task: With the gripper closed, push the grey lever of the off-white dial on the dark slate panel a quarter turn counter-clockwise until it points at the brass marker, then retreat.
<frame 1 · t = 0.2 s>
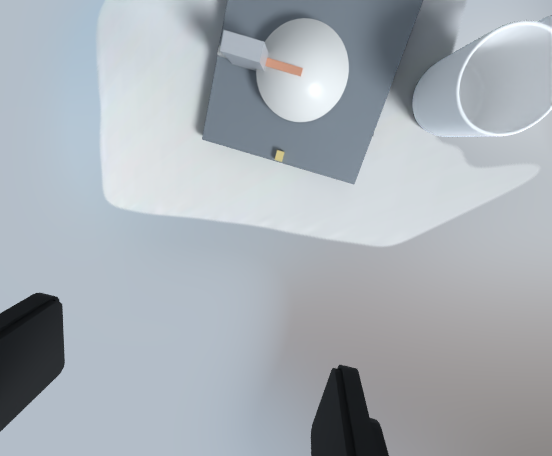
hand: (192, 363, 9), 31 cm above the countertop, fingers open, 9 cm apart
panel: (301, 79, 34), on the countertop
dial: (288, 66, 29), point 5 cm above the countertop, hinge at 0.0°
mug: (458, 86, 33), on the countertop
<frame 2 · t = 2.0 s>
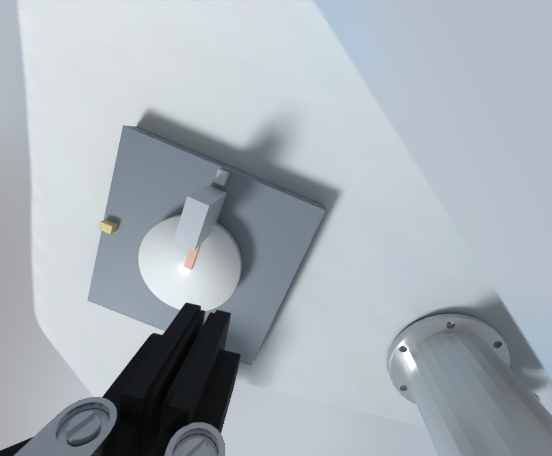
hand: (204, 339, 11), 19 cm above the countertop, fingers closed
panel: (201, 252, 31), on the countertop
dial: (187, 259, 26), point 5 cm above the countertop, hinge at 0.0°
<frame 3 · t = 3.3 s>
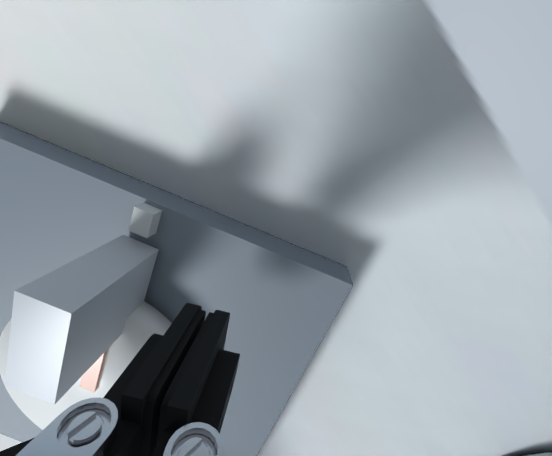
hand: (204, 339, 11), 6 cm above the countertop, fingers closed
panel: (133, 336, 18), on the countertop
dial: (77, 383, 13), point 5 cm above the countertop, hinge at 0.0°
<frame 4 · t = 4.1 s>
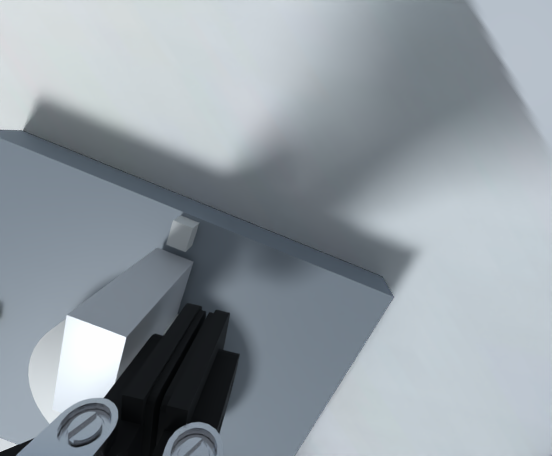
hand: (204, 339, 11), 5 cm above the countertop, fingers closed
panel: (160, 348, 18), on the countertop
dial: (114, 400, 12), point 5 cm above the countertop, hinge at 0.7°, touching gripper
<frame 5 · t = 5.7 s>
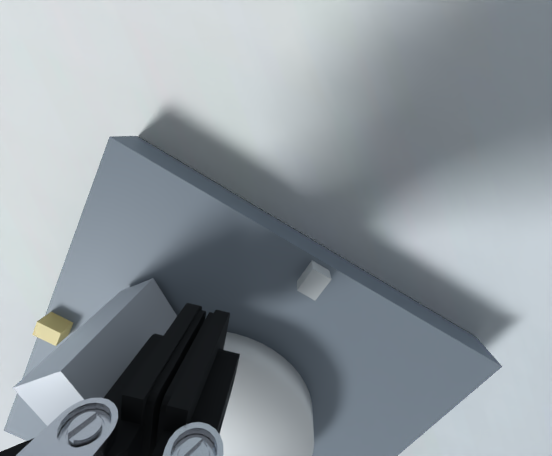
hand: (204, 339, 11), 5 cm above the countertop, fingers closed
panel: (227, 372, 17), on the countertop
dial: (185, 439, 12), point 5 cm above the countertop, hinge at 54.9°, touching gripper
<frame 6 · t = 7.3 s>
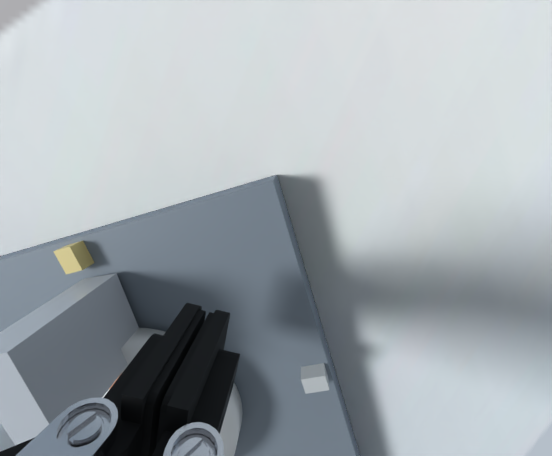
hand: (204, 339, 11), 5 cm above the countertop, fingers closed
panel: (172, 370, 18), on the countertop
dial: (115, 428, 13), point 5 cm above the countertop, hinge at 85.3°
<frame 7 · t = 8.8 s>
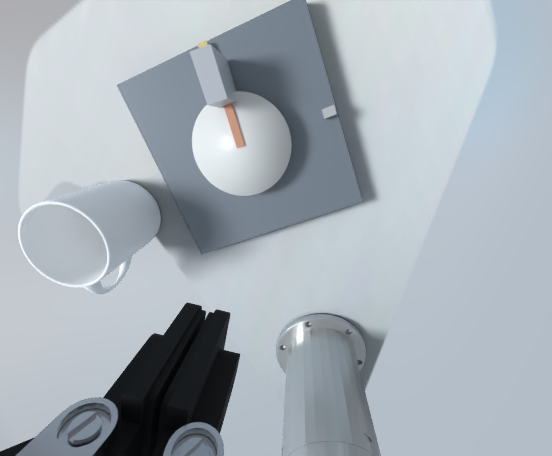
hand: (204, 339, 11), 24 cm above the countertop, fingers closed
panel: (247, 144, 31), on the countertop
dial: (233, 131, 26), point 5 cm above the countertop, hinge at 85.3°
mug: (132, 224, 36), on the countertop
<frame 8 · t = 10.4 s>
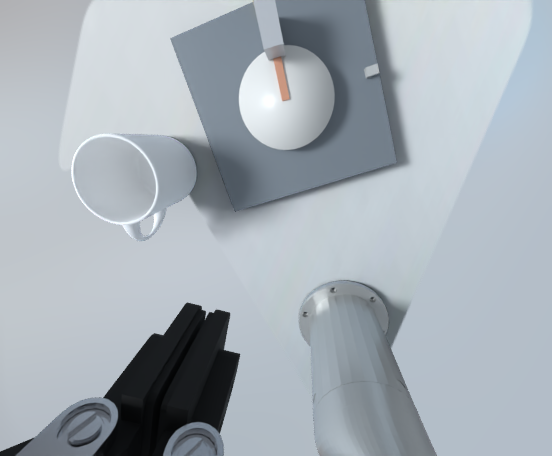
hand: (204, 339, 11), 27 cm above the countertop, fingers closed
panel: (287, 104, 33), on the countertop
dial: (282, 82, 28), point 5 cm above the countertop, hinge at 85.3°
mug: (167, 182, 37), on the countertop
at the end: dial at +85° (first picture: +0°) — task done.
